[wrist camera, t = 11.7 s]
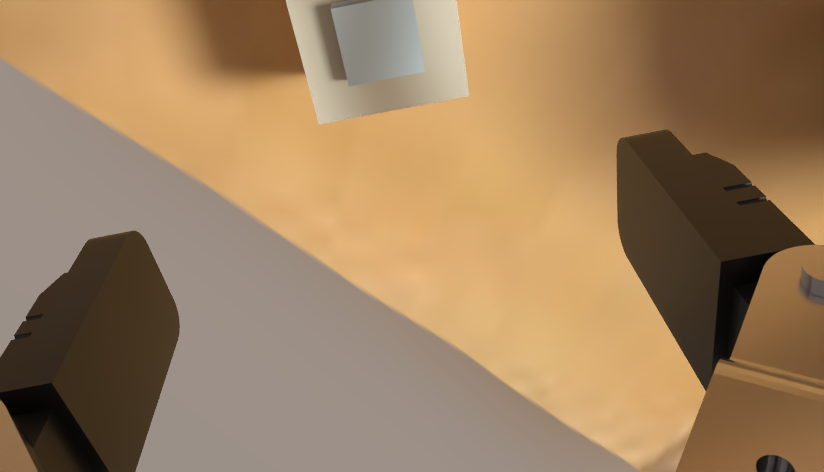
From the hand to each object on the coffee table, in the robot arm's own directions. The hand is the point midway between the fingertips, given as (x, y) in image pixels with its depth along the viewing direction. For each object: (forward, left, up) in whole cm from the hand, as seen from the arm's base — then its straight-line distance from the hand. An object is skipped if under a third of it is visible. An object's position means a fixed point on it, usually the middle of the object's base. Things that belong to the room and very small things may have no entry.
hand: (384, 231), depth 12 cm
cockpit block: (0, 0, -16) cm, 16 cm away
